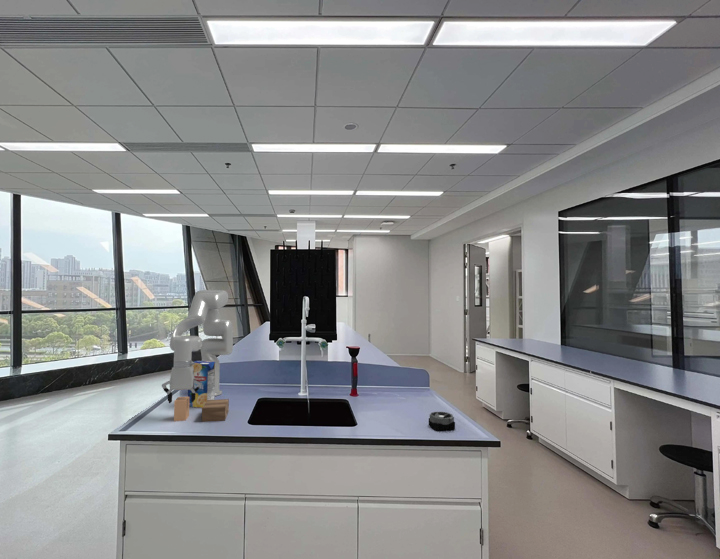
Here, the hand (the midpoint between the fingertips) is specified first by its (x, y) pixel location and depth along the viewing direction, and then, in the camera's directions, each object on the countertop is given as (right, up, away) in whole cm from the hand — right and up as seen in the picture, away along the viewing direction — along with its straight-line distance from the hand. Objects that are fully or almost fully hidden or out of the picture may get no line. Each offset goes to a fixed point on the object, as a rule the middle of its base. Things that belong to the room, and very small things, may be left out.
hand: (181, 401), depth 185 cm
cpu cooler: (+118, -9, -9) cm, 119 cm away
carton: (0, -8, 0) cm, 8 cm away
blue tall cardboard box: (+1, -8, +21) cm, 23 cm away
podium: (+15, -8, +3) cm, 17 cm away
